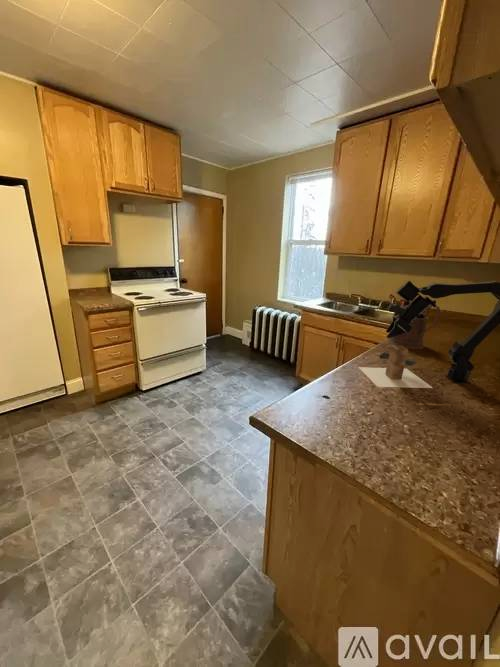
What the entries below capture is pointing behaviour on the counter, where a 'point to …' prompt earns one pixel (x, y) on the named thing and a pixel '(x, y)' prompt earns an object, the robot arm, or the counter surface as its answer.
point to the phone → (408, 362)
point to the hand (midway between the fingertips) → (387, 334)
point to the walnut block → (396, 362)
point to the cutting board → (384, 381)
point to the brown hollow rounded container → (415, 332)
